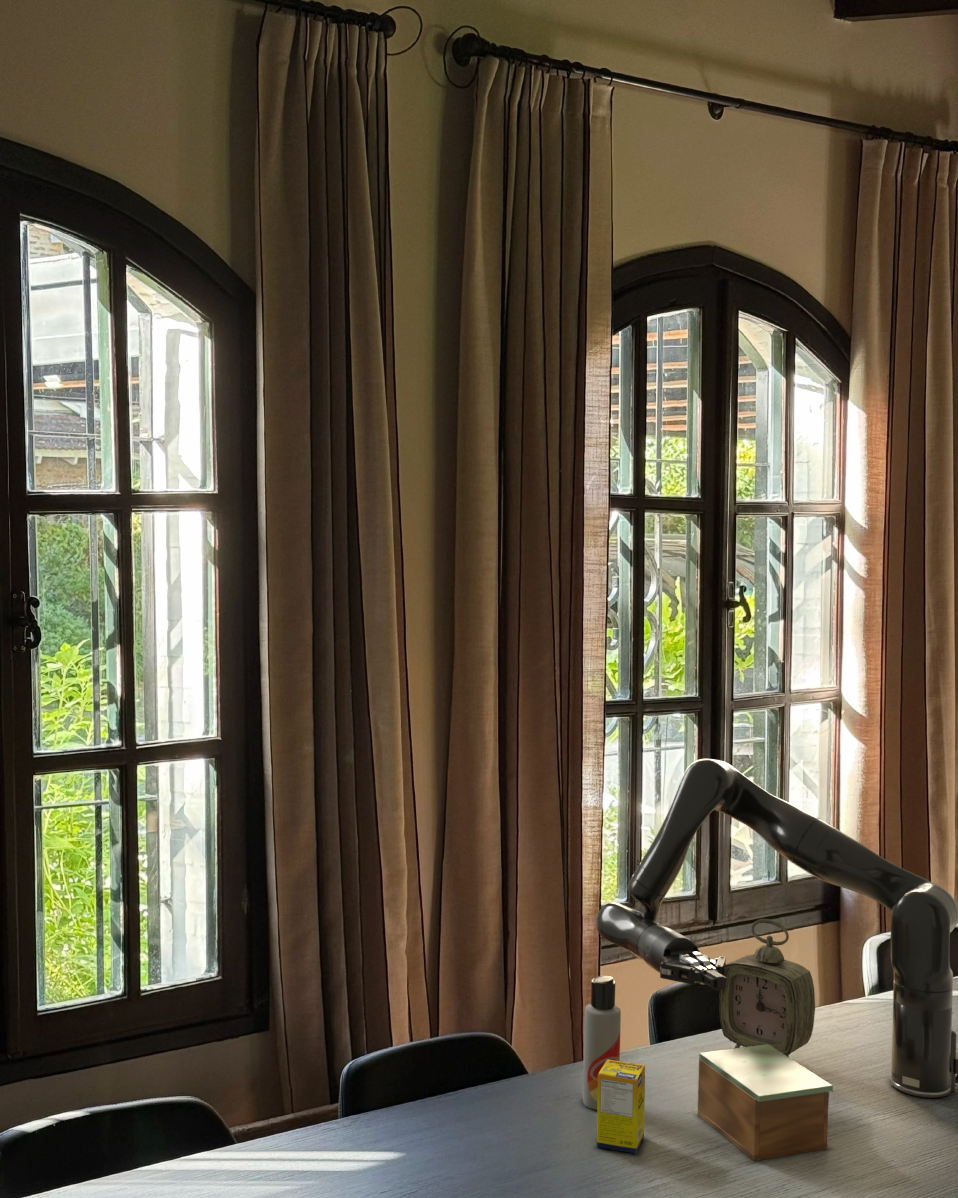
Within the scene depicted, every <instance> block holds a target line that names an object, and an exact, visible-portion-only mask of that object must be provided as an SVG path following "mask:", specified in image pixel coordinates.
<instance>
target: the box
mask: <svg viewBox="0 0 958 1198" xmlns="http://www.w3.org/2000/svg"><path fill="white" fill-rule="evenodd" d="M697 1084H698V1087H697V1116H699V1117H700V1119H702V1120H703V1121H704V1122H706V1123H707V1124H708V1125H710V1126H711V1128H713V1129H715V1130H716V1132H718V1133H719V1134H720V1135H722V1136H723V1137H724V1138H726V1139H727V1140H728V1142H731V1143H732V1145H734V1146H735V1147H736V1148H738V1149H739V1150H740V1151H741V1152H743V1153H744V1154H745V1155H746V1156H747V1157H748V1158H750V1159H751V1160H752V1161H761V1160H767V1159H773V1158H779V1157H785V1156H790V1155H797V1154H803V1153H809V1152H815V1151H821V1150H827V1149H828V1142H829V1141H828V1140H829V1139H828V1136H829V1104H830V1103H829V1102H830V1101H829V1098H830V1097H829V1096H830V1092H823V1093H817V1094H810V1095H803V1096H796V1097H790V1098H783V1099H776V1100H769V1101H762V1102H759V1101H757V1100H756V1099H754V1098H753V1097H752V1096H750V1095H749V1094H748V1093H746V1092H745V1091H744V1090H742V1089H741V1088H739V1087H738V1086H737V1085H735V1084H734V1083H733V1082H731V1081H730V1080H728V1079H727V1078H726V1077H724V1076H723V1075H722V1074H720V1073H719V1072H718V1071H716V1070H715V1069H713V1068H712V1067H711V1066H709V1065H708V1064H707V1063H705V1062H704V1061H702V1060H701V1059H700V1058H699V1059H698V1082H697Z"/></svg>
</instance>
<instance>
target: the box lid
mask: <svg viewBox="0 0 958 1198" xmlns="http://www.w3.org/2000/svg"><path fill="white" fill-rule="evenodd" d="M698 1058H699V1059H701V1060H702V1061H704V1062H705V1063H707V1064H708V1065H709V1066H711V1067H712V1068H713V1069H715V1070H716V1071H718V1072H719V1073H720V1074H722V1075H723V1076H724V1077H726V1078H727V1079H728V1080H730V1081H731V1082H733V1083H734V1084H735V1085H737V1086H738V1087H739V1088H741V1089H742V1090H744V1091H745V1092H746V1093H748V1094H749V1095H750V1096H752V1097H753V1098H754V1099H756V1100H757V1101H759V1102H762V1101H769V1100H776V1099H783V1098H790V1097H796V1096H803V1095H810V1094H817V1093H823V1092H829V1093H830V1092H833V1091H834V1085H833V1084H831V1083H829V1082H828V1081H826V1080H825V1079H823V1078H822V1077H821V1076H819V1075H817V1074H815V1072H812V1071H811V1070H809V1069H808V1068H807V1067H805V1066H803V1065H801V1064H800V1063H798V1062H797V1061H796V1060H793V1059H792V1058H790V1056H789V1057H787V1056H786V1055H784V1054H783V1053H781V1052H780V1051H778V1050H777V1049H775V1048H773V1047H772V1046H770V1045H769V1044H765V1045H757V1046H750V1047H743V1046H741V1047H739V1048H735V1047H734V1048H727V1049H720V1050H719V1049H718V1050H711V1051H704V1052H699V1054H698Z"/></svg>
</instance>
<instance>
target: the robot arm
mask: <svg viewBox="0 0 958 1198" xmlns="http://www.w3.org/2000/svg"><path fill="white" fill-rule="evenodd" d="M713 811H716V812H719V813H721V814H723V815H726V816H728V817H730V818H732V819H734V820H736V821H737V822H740V823H742V824H743V825H745V826H746V827H749V829H751V830H753V831H754V832H755V833H757V834H758V835H759V836H760V837H761V838H762V840H764V841H765V842H766V843H767V844H768V845H769V846H770V847H771V848H772V849H773V850H775V852H777V853H778V854H779V855H781V856H782V857H783V858H784V859H786V860H787V861H788V862H790V863H791V864H793V865H795V866H797V867H798V868H799V869H801V870H802V871H805V872H806V873H808V874H809V875H811V876H813V877H815V878H817V879H819V880H821V881H823V882H826V883H828V884H831V885H834V886H837V887H840V888H843V889H846V890H849V891H852V892H855V893H858V894H861V895H863V896H865V897H868V898H870V899H871V900H873V901H875V902H876V903H877V904H880V905H881V906H882V907H885V908H886V909H887V910H889V911H890V912H891V917H890V963H891V967H892V969H893V985H892V987H893V988H892V989H893V992H892V994H893V995H892V1027H891V1028H892V1030H891V1033H892V1034H891V1068H890V1069H891V1070H890V1072H891V1073H890V1076H889V1077H890V1079H889V1080H890V1081H889V1082H890V1084H891V1086H892V1087H893V1088H895V1089H896V1090H898V1091H900V1092H902V1093H905V1094H907V1095H910V1096H914V1097H919V1098H927V1099H928V1098H929V1099H935V1098H936V1099H937V1098H944V1097H947V1096H948V1095H950V1094H951V1092H952V1091H956V1085H957V1084H958V1052H957V1033H956V1031H954V1030H953V998H954V997H953V995H954V994H953V993H954V972H953V970H952V968H951V964H950V940H951V939H950V935H951V933H952V932H953V930H954V929H955V928H956V927H957V925H958V904H957V902H956V899H954V897H953V896H952V894H950V892H949V891H948V890H946V889H945V888H944V887H942V886H940V885H938V884H937V883H935V882H932V881H931V880H928V879H926V878H924V877H922V876H920V875H917V874H915V873H913V872H911V871H908V870H906V869H904V868H903V867H900V866H898V865H896V864H894V863H893V862H891V861H888V860H887V859H885V858H884V857H882V856H880V855H879V854H878V853H876V852H874V851H873V850H872V849H869V848H868V847H867V846H865V845H863V844H862V843H860V842H859V841H858V840H855V839H854V838H852V837H850V836H849V835H847V834H845V833H844V832H842V831H841V830H839V829H838V828H836V827H835V826H833V825H831V824H830V823H828V822H826V821H825V820H823V819H821V818H819V817H818V816H816V815H814V814H812V813H810V812H808V811H806V810H805V809H802V808H801V807H799V806H796V805H795V804H793V803H790V802H789V801H786V800H784V799H783V798H779V797H778V796H775V795H774V794H771V793H770V792H768V791H767V790H766V789H764V788H762V786H759V785H758V784H756V783H755V782H754V781H752V780H751V779H749V777H747V776H745V774H743V773H742V772H740V771H739V770H738V769H736V768H735V767H734V766H733V765H732V764H730V763H728V762H726V761H723V760H720V759H713V758H701V759H698V760H695V761H694V762H692V763H690V765H689V766H688V767H687V768H686V770H685V771H684V773H683V776H682V778H681V780H680V782H679V785H678V787H677V790H676V793H675V795H674V797H673V801H672V803H671V804H670V808H669V810H668V812H667V814H666V816H665V819H664V820H663V822H662V824H661V826H660V828H659V830H658V832H657V834H656V835H655V837H654V839H653V841H652V843H651V844H650V846H649V848H648V850H647V851H646V853H645V854H644V856H643V858H642V859H641V861H640V862H639V864H638V865H637V867H636V869H635V870H634V872H633V873H632V875H631V877H630V879H629V881H628V883H627V886H626V889H627V892H628V893H629V894H630V896H631V897H632V898H634V899H635V900H636V901H637V902H638V906H637V909H633V908H632V907H629V906H627V905H625V904H622V903H621V902H620V903H619V902H616V901H615V902H609V903H606V904H604V905H603V906H602V907H600V909H599V911H598V912H597V915H596V919H595V920H596V921H595V926H596V929H597V932H598V933H599V935H600V936H601V937H602V938H603V939H605V940H606V941H608V942H610V943H612V944H614V945H617V946H618V947H620V948H622V949H625V950H627V951H629V952H630V953H632V954H633V955H634V956H635V957H637V958H638V959H639V960H641V961H644V962H645V964H646V965H647V966H649V967H650V968H651V969H653V970H654V971H656V972H658V973H659V978H660V979H663V980H667V981H668V980H669V981H673V982H677V983H682V984H687V985H695V983H697V984H698V985H702V986H703V985H706V986H707V987H709V988H711V989H713V990H714V991H717V992H718V991H720V990H725V987H726V977H725V976H724V975H725V969H726V964H727V957H726V956H724V955H720V956H718V958H717V957H716V958H715V959H711V957H710V956H709V955H707V954H704V953H701V952H700V950H699V948H698V946H697V945H696V943H695V942H694V941H693V940H692V939H690V938H688V937H686V936H685V935H683V934H681V933H679V932H677V931H676V930H674V929H672V928H669V927H667V926H663V925H662V924H660V923H659V922H657V919H658V915H659V913H660V910H661V906H662V904H663V901H664V899H665V898H666V896H667V895H668V893H669V891H670V889H671V887H672V886H673V884H674V883H675V881H676V880H677V877H678V875H679V873H680V872H681V869H682V867H683V865H684V862H685V860H686V857H687V854H688V850H689V848H690V846H691V843H692V841H693V839H694V837H695V835H696V833H697V832H698V830H699V829H700V827H701V826H702V825H703V823H704V822H705V821H706V819H707V818H708V817H709V816H710V815H711V813H712V812H713Z"/></svg>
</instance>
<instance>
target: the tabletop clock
mask: <svg viewBox="0 0 958 1198" xmlns="http://www.w3.org/2000/svg"><path fill="white" fill-rule="evenodd" d="M759 924H769V925H773V926H776V927H778V928H779V929H781V930H782V931H783V932H784V934H785V939H784V940H780V941H776V940H774V938H773V936H772V935H767V936H766V938H763V937H761V936H760V935H758V934H757V933H756V932H755V927H756V926H758V925H759ZM750 930H751V933H752V935H753V937H754V938H755V939H756V940H757V941H759V942H761V943H763V944H764V945H760V946H759V947H758V948H756V949H755V951H754V953H752V954H748V955H747V954H746V955H744V956H742V957H739V958H737V959H735V960H733V961H731V962H728V963H726V969H725V975H724V976H725V977H726V987H725V990H718V991H719V993H718V1007H719V1008H718V1011H719V1012H718V1013H719V1014H718V1015H719V1023H720V1028H721V1031H722V1034H723V1036H724V1037H725V1038H726V1039H728V1040H729V1041H730V1042H732V1043H734V1044H735V1046H734V1048H741V1047H750V1046H757V1045H765V1044H769V1045H770V1046H772V1047H773V1048H775V1049H777V1050H778V1051H780V1052H781V1053H783V1054H784V1055H786V1056H787V1057H789V1058H790V1054H793V1053H794V1052H796V1051H797V1050H799V1049H800V1048H802V1047H803V1046H805V1045H807V1044H808V1043H809V1041H810V1040H811V1037H812V1035H813V1030H814V1023H815V1014H816V996H815V995H816V994H815V985H814V980H813V976H812V974H811V971H810V970H809V969H808V968H806V967H805V966H803V965H802V964H799V963H797V962H793V961H791V960H788V959H785V956H784V955H783V952H782V951H781V949H780V948H779V947H778V946H782V945H785V944H786V943H788V941H789V938H790V937H789V932H788V929H787V928H786V927H785V926H784V925H783V924H781V923H780V922H778V921H776V920H774V919H769V918H761V919H757V920H756V921H754V922H753V923H752V925H751V929H750Z"/></svg>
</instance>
